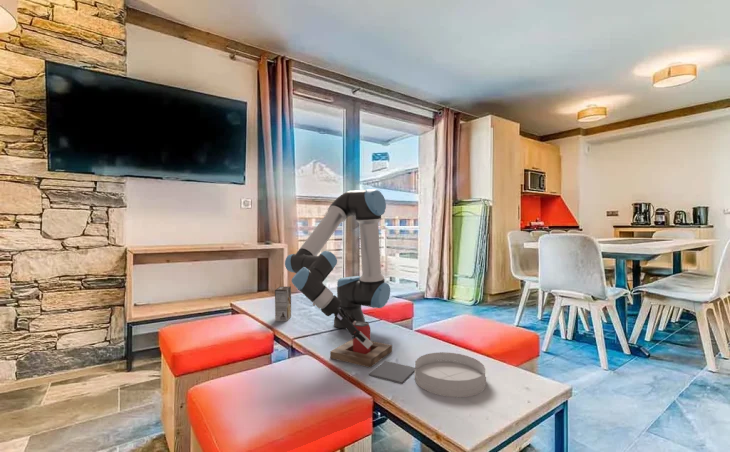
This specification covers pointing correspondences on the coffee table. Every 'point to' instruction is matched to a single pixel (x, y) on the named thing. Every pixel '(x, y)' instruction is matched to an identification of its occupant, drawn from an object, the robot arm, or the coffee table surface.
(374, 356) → the pocket tray
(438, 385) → the dish
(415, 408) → the coffee table surface
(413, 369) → the coaster
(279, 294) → the coffee box
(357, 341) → the beer can
